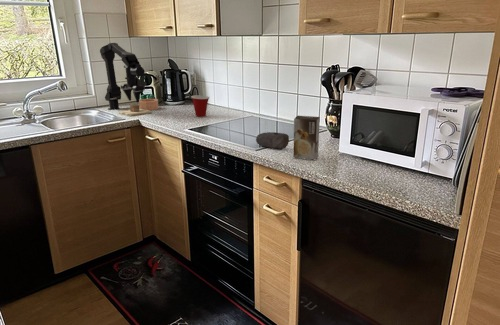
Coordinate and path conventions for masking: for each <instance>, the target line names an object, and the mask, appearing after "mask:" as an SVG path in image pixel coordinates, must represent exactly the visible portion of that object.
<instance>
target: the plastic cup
mask: <svg viewBox="0 0 500 325" xmlns="http://www.w3.org/2000/svg"><path fill="white" fill-rule="evenodd" d="M190 97H191V99H192V100H191V101H192V104H193V109H194V112H195V113H194V114H195V116H196V118H203V117H206V115H207V109H208V102H209V100H210V96H207V95H202V94H201V95H198V94H195V95H191V96H190Z"/></svg>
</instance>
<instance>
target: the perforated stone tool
mask: <svg viewBox="0 0 500 325" xmlns="http://www.w3.org/2000/svg"><path fill="white" fill-rule="evenodd" d="M289 137H290V135H288V133H283V132H275V131H273V132H262V133H259V134H258V135H256V138H255V141H256V143H257V145H258V146H261V147H265V148H267V147H268V149H272V148H274V149H278V150H283V149H286V148H287V146H288V145H289V143H290V142H289V141H290V138H289Z"/></svg>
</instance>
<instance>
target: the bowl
mask: <svg viewBox="0 0 500 325" xmlns="http://www.w3.org/2000/svg"><path fill="white" fill-rule="evenodd" d="M138 105H139V108H140V109H144V110H148V111H156V110H158V109H159V108H160V107H159V99H158V98H144V99H139V102H138Z"/></svg>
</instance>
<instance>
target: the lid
mask: <svg viewBox="0 0 500 325" xmlns="http://www.w3.org/2000/svg"><path fill="white" fill-rule="evenodd" d="M118 113H120V114H119V115H122V114H124V115H123V116H126V115H127V116H126V117H129V116H132V117H136V116H137V115H138V116H142V115H143V114H144V115H150V114H152V110H144V109H140V107H139V103H138V104H137V103H134V104H130V105H129V109H124V110H119V111H118ZM149 113H150V114H149ZM144 115H143V116H144ZM138 116H137V117H138Z"/></svg>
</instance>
